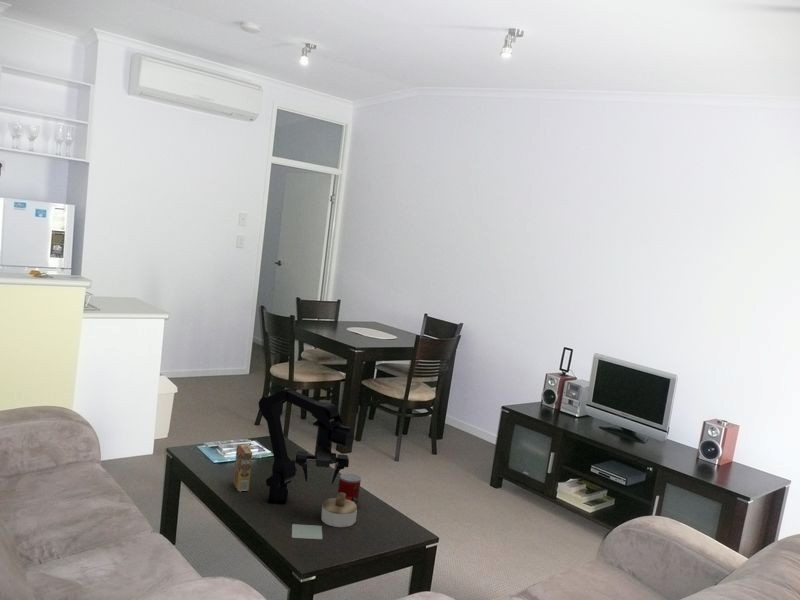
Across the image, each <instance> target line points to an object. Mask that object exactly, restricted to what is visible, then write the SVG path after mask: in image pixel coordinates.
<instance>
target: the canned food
mask: <svg viewBox="0 0 800 600" xmlns="http://www.w3.org/2000/svg"><path fill="white" fill-rule="evenodd" d="M361 481H362V479H361V476H359V475H357V474H354V473H350V472H349V473H348V472H347V473H345V472H344V473H341V474H340V475H339V480H338V489H337V493H338V492H343V493H345V494H346V497H345V499H347V500H350V501H352V502H354V503H355V504H356V505H357V506H358V505H359V495H360V488H361Z"/></svg>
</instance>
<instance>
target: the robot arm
mask: <svg viewBox="0 0 800 600" xmlns="http://www.w3.org/2000/svg"><path fill="white" fill-rule="evenodd" d="M287 402H288V403H290V404H292V405H293V406H296V407H298V408H300V409H302V410H305V411H306V412H308V413H310V414H311V415H312V417H314V418H315V419H316V421H314V422H313V423H312V426H315V427H317V430H316V431H317V433H316V440H315V449H314V454H313V455H312V454H308V451H303V450H297V451H296V452H295V457H294V458H295V459H292V460H291V459H290V457H289V456H288V452H287V446H286V441H285V437H284V431H283V427H282V421H281V416H282V412H283V404H285V403H287ZM258 408H259V410H260V414H261V416H262V417H263V418H264V419H265V421H266V424H267V430H268V433H269V439H270V445H271V448H272V449H271V450H272V455H273V464H272V467H271V471H272V473H271V474H272V475H270V476H268V477H267V478H266V479H265V484H266V487H269V489H268V497H267V504H276V505H280V504H281V505H286V504H287V502H288V497H289V496H288V494H289V487H288V484H291V482H292V480H294V479H295V477H296V476H297V471H298V470H297V466H296V464H298V466H300V467H301V468H302V470H303V474H304V479H305V482H308V461H310V462H315V466H316V467H317V468H321V467H322V468H325V469H326V468H330V466H331V465H333V464H334V467H333V473H332V477H331V484H334V482H335V480H336V478H337V476H338V474H339V472H340V471H341V470H344V469H345V468H349V463H350V460H349V459H350V458H349V456H348V454H342V453H341V454H340V453H339V454H337V452H332V450H333V449H332V447H333V444H336V445H338V446H341V447H342V446H343V447H345V448H350V447H351V446H352V445H353V443H354V440H355V439H354V438H355V435H354V432H353V428H352V427H351V426H345V425H344V422H343V419H342V418H341V415H340V412H339V409H338V406H337V405H336V404H334V403H330V402H325V401H318V400H315V399H314V398H312V397H309V396H306V395H305V394H303V393H300V392H298V391H296V390H294V389H293V388H291V387H287V388H283V389H281V390H279V391H278V392H275V393H274V394H270V395H265V396H263V397H261V398H260V400H259V401H258Z"/></svg>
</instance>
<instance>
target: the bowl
mask: <svg viewBox="0 0 800 600" xmlns="http://www.w3.org/2000/svg"><path fill="white" fill-rule="evenodd" d="M357 512H358V509H356V511H355V512H353V513H350V514H335V513H331V512H329V511H327V510H325V509H324V508H323V504H322V507H321V512H320V513H321V518H320V519H321V521H322V522H323V523H324V524H326V525H327V526H331V527H335V528H348V527H351V526H353V525H355V523H356V521H357V515H358V513H357Z"/></svg>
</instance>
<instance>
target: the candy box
mask: <svg viewBox="0 0 800 600" xmlns="http://www.w3.org/2000/svg"><path fill="white" fill-rule="evenodd" d="M235 450H236V453H235V463H234V474H233V485H234V488H237V489H236V491H237V490H238V491H240V492H239V493H242V492H241V491H248V492H249V490H250V480H251V472H252V471H251V469H252V460H253V452H252V450H251V449H250V447H249V446H248V445H247V444H244V445H243V444H241V445H240V444H239V445H236V449H235ZM238 491H237V492H238Z"/></svg>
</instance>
